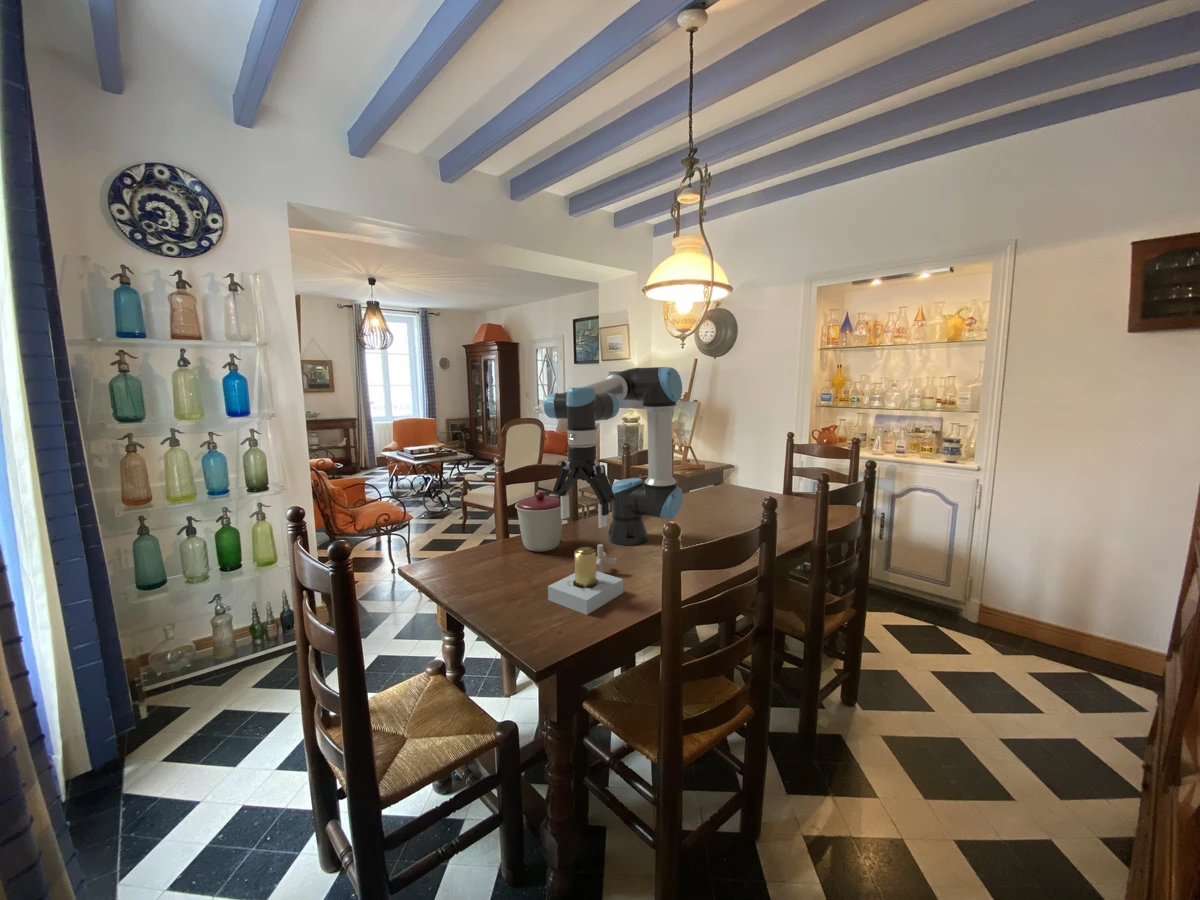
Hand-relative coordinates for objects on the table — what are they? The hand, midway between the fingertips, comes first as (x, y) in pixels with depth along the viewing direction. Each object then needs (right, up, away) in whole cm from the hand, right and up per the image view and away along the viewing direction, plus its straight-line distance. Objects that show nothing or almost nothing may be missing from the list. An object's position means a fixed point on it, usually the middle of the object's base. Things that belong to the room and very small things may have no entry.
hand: (583, 522), depth 130 cm
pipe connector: (+5, -20, +19) cm, 28 cm away
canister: (-17, -16, +46) cm, 51 cm away
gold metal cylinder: (+1, -21, +3) cm, 22 cm away
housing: (+1, -22, +3) cm, 23 cm away
